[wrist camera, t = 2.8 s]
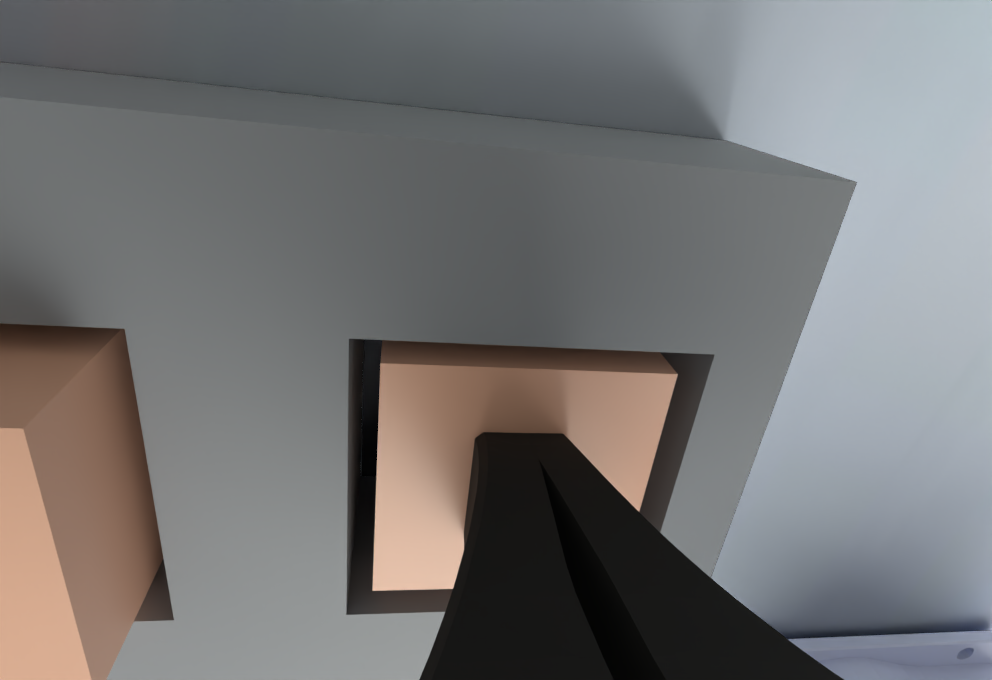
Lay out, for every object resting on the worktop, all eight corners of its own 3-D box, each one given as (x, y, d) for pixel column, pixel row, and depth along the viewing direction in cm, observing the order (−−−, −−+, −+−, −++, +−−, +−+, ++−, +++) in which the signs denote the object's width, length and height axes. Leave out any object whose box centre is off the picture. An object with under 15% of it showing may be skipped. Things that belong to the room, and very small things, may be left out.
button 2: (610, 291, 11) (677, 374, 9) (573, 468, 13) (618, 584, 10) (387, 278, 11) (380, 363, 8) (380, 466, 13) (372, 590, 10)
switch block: (726, 140, 11) (856, 182, 8) (614, 557, 15) (668, 693, 12) (-294, 29, 8) (-725, 25, 5) (-76, 569, 12) (-235, 745, 9)
